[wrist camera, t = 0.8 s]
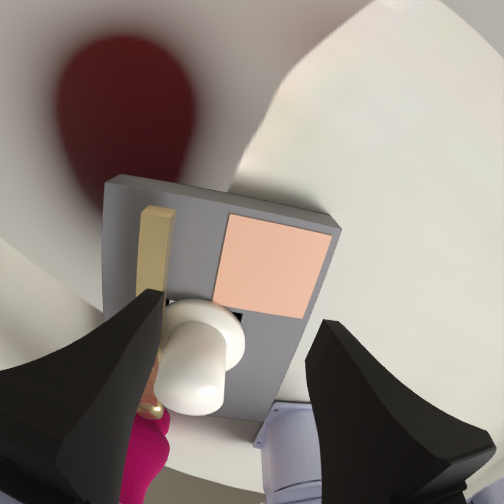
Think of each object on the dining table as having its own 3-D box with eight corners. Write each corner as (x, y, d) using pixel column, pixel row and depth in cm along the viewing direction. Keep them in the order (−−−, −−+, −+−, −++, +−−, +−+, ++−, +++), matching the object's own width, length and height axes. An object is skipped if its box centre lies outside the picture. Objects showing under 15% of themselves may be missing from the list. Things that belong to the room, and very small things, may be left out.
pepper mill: (111, 382, 26) (57, 560, 8) (180, 403, 27) (156, 590, 9) (111, 417, 29) (72, 563, 11) (169, 435, 30) (149, 586, 12)
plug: (235, 355, 24) (233, 431, 17) (157, 341, 23) (136, 413, 17) (253, 291, 21) (257, 369, 15) (162, 274, 20) (131, 345, 14)
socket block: (262, 401, 27) (263, 428, 24) (119, 375, 26) (110, 401, 23) (331, 215, 20) (346, 234, 17) (120, 173, 18) (99, 185, 15)
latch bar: (165, 409, 22) (162, 422, 21) (137, 403, 22) (134, 415, 21) (184, 211, 16) (179, 219, 14) (141, 203, 15) (132, 211, 14)
